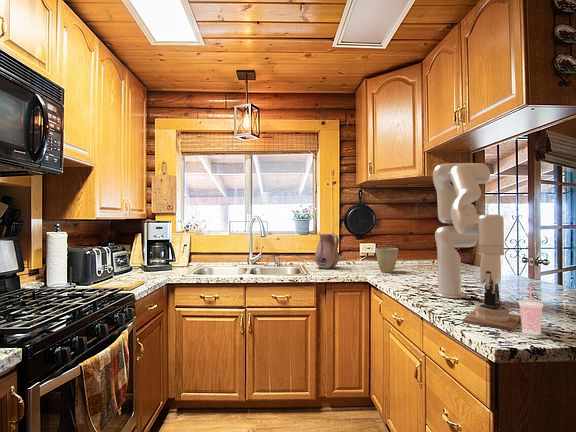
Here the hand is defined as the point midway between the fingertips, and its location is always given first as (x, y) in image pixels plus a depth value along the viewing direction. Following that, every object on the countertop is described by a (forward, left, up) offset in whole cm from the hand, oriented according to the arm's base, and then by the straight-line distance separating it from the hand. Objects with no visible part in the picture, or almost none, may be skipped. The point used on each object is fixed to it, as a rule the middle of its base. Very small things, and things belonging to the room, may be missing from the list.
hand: (492, 302), depth 115 cm
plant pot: (-80, -76, -6) cm, 110 cm away
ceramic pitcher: (-71, -117, -6) cm, 137 cm away
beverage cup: (+7, +11, -6) cm, 15 cm away
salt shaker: (0, 0, -3) cm, 3 cm away
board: (0, 0, -6) cm, 6 cm away
